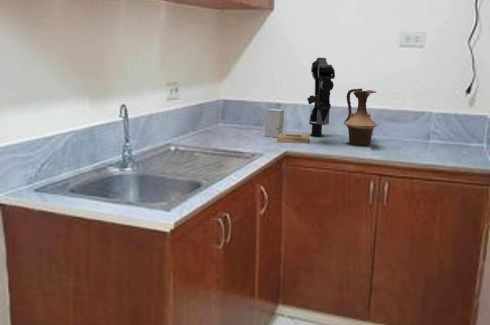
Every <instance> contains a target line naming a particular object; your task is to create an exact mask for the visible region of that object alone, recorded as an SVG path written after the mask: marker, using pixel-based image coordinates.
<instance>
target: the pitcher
mask: <svg viewBox="0 0 490 325" xmlns="http://www.w3.org/2000/svg"><path fill="white" fill-rule="evenodd" d="M375 93H377V91H375V90H371V89H370V90H368V89H367V90H363V88H361V87H360V88H352V89H349V90H347V93H346V102H347V103H346V104H347V108H348V115H347V117H346V119H345V120H344V121H343V125H345V126H346V127H347V129H348V144H349V145H354V146H370V145H371V143H372V136H373V132H374V128H376V127H378V126H379V124H378V123H376V122H375V121H374V120H373V119H372V118H371V117H369V115H368V113H367V112H368V111H367V102H368V98H369V97H370V95H371V94H375ZM351 94H353V95H354V97H356V99H357V109H356V111H355V112H356V113H355V115H354V116H353V117H352V118H351V112H353V111H352V105H351ZM350 118H351V119H350Z"/></svg>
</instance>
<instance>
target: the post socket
mask: <svg viewBox="0 0 490 325" xmlns="http://www.w3.org/2000/svg"><path fill="white" fill-rule="evenodd" d="M276 138H277V139H276V142H277V143H291V144H292V143H294V144H309V143H310V134H304V133H303V134H302V133H283V132H282V133H279V135H278V137H276Z"/></svg>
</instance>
